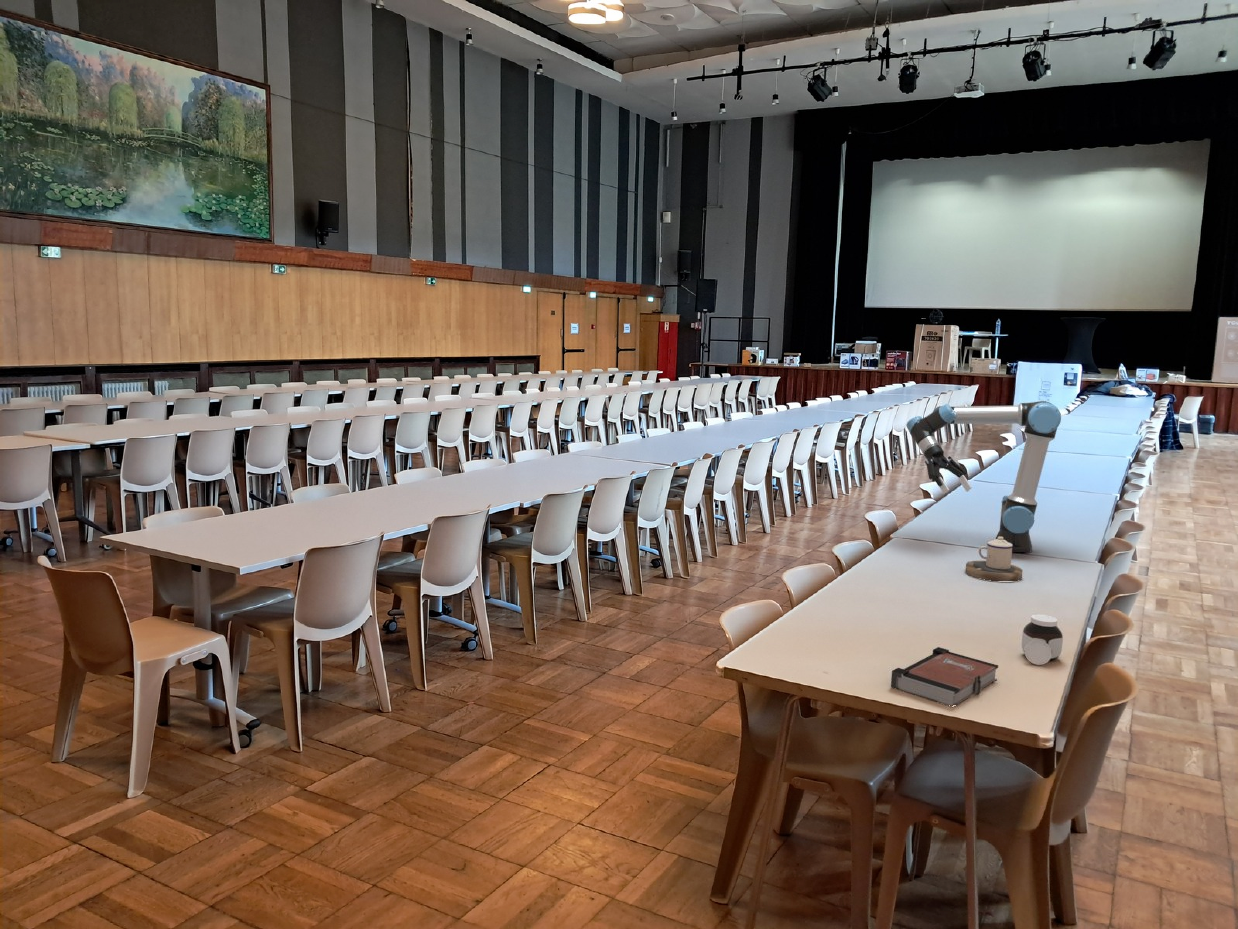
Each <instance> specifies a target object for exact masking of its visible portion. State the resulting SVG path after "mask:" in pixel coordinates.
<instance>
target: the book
mask: <svg viewBox="0 0 1238 929" xmlns="http://www.w3.org/2000/svg"><path fill="white" fill-rule="evenodd" d="M998 668H999V665H998V664H994V663H992V662H991V663H990V662H987V661H984V660H979V659H977V658H973V657H969V656H965V655H963V654H959V653H956V652H952V651H950V649H947V648H943V647H939V646H937V647H935V648H933V649H932V653H931V654H930V655H928V656H926V657H924V658H922V659H921V660H918V661H916V662H915V663H913V664H911V665H909V666H907V667H906V668H901V667H896V668H895V669H892V671H891V677H890V678H891V680H890V688H891V687H892V688H891V689H894V688H896V689H895V690H897V689H898V690H897V691H900V690H901V692H903V691H904V692H903V693H907V694H910V695H912V696H915V695H916V697H919V698H922V699H925V698H926V699H925V700H928V701H932V702H934V703H937V702H939V703H938V704H940V703H942V704H941V705H943V704H944V705H943V706H946V705H950V706H953V705H957V706H959V705H960V704H961V702H962V703H963V702H965V701H966V700H968V699H969V698H971V697H973V696H974V695H976V696H977V695H978V694H980V693H981V691H982V690H984V689H986V688H987V687H989V686H990V685H992V684H993V683H995V682H997V681H998V678H996V673H997V672H996V671H997V669H998ZM994 681H995V682H994ZM992 682H993V683H992ZM991 683H992V684H991ZM989 684H990V685H989ZM988 685H989V686H988ZM983 688H984V689H983ZM959 703H960V704H959Z"/></svg>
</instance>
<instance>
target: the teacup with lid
mask: <svg viewBox="0 0 1238 929" xmlns="http://www.w3.org/2000/svg"><path fill="white" fill-rule="evenodd" d="M986 544H987V545H982V546H980V547H979V548H978V555H979V556H980V558H981V559H983V560H985V561H986V566H987V567H990V568H993V569H1001V570H1006V569H1010V567H1011V565H1012V554H1013V552H1012V548H1013V545H1012V544H1011V543H1008V542H1007V541H1006V540H1003V537H998V539H996V538H995V539H993V540H989V541H988V542H987V543H986ZM982 549H987V551H986V556H984V555H983V553H982V552H981V551H982Z"/></svg>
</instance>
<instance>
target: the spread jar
mask: <svg viewBox="0 0 1238 929" xmlns="http://www.w3.org/2000/svg"><path fill="white" fill-rule="evenodd" d="M1058 621H1059V620H1058V619H1057V618H1056V617H1054V616H1050V615H1047V614H1033V615H1031V616H1030V622H1029V623H1027V624H1026V625H1025V626H1024V628H1023V630H1022V633H1021V649H1022V651H1023V653H1024V655H1025V656H1024V657H1025V658H1026V659H1027V660H1028V661H1029V662H1030V663H1032V664H1033V665H1036V666H1037V665H1038V666H1041V665H1042V666H1043V665H1045V664H1047V663H1048V661H1050V662H1053V661H1055V660H1057V659H1059V657H1060V656H1061V655H1062V651H1063V650H1062V649H1063V643H1064V641H1063V640H1064V638H1063V636H1064V635H1063V632H1062V630H1061V629H1060V628H1059V627H1058Z"/></svg>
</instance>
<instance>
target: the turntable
mask: <svg viewBox="0 0 1238 929" xmlns="http://www.w3.org/2000/svg"><path fill="white" fill-rule="evenodd" d="M1023 571H1024V570H1023V569H1022V568H1021V567H1019V566H1018V565H1014V564H1011V567H1010V569H1006V570H1001V569H993V568H990V567H987V566H986V560H972V561H968V562H967V563H966V564H965V571H964V572H965V574H966V575H968V576H969V575H970V576H969V577H971V576H972V578H975V579H977V578H981V579H985V580H984V581H986V580H991V581H990V582H993V581H1017V582H1019V581H1018V580H1020V579H1021V578H1022V579H1023V573H1024V572H1023ZM981 579H980V580H981ZM1022 579H1021V580H1022ZM1021 580H1020V581H1021Z"/></svg>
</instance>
